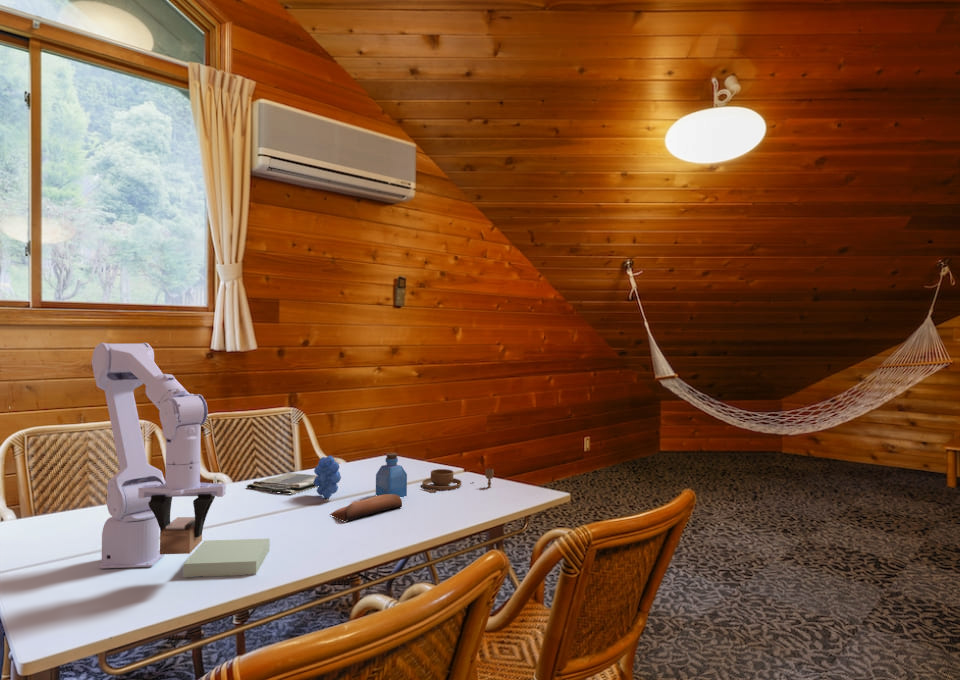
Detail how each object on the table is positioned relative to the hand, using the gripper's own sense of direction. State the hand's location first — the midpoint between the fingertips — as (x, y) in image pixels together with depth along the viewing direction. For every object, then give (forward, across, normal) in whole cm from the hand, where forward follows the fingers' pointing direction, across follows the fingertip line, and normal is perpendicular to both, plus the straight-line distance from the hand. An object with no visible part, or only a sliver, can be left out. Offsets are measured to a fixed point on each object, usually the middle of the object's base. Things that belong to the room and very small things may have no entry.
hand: (182, 535), depth 112 cm
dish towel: (+9, +8, +72) cm, 72 cm away
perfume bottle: (+9, +38, +57) cm, 69 cm away
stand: (+8, +6, +8) cm, 13 cm away
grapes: (+9, +21, +57) cm, 61 cm away
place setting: (+9, +56, +65) cm, 87 cm away
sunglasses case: (+9, +31, +42) cm, 53 cm away
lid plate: (-1, 0, 0) cm, 1 cm away
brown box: (+2, 0, 0) cm, 2 cm away
